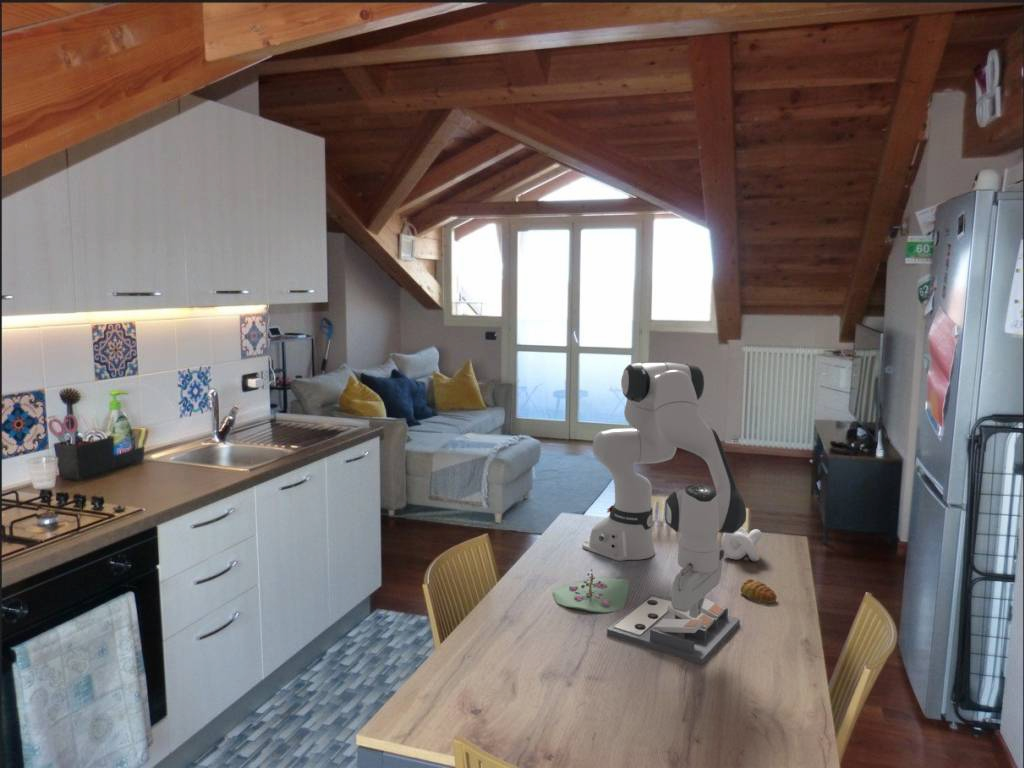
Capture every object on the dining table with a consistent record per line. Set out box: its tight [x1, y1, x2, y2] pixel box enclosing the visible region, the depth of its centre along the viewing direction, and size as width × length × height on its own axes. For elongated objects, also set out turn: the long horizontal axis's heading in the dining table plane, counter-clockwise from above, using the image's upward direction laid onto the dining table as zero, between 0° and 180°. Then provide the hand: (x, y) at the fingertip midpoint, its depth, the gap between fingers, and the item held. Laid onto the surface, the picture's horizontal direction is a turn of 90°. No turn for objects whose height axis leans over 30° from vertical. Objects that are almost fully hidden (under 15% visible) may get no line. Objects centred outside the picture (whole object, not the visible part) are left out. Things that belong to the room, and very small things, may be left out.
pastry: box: [740, 578, 778, 604], centre depth 208 cm, size 9×7×4 cm
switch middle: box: [667, 603, 714, 630], centre depth 187 cm, size 10×5×1 cm, turn 55°
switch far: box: [702, 597, 725, 619], centre depth 192 cm, size 10×5×1 cm, turn 55°
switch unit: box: [606, 594, 741, 666], centre depth 189 cm, size 24×24×4 cm
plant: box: [552, 569, 629, 614], centre depth 209 cm, size 25×21×9 cm
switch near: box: [654, 619, 703, 633], centre depth 181 cm, size 10×5×1 cm, turn 54°
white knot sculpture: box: [721, 526, 762, 562], centre depth 234 cm, size 11×12×9 cm
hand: (695, 615), depth 178 cm, fingers closed
